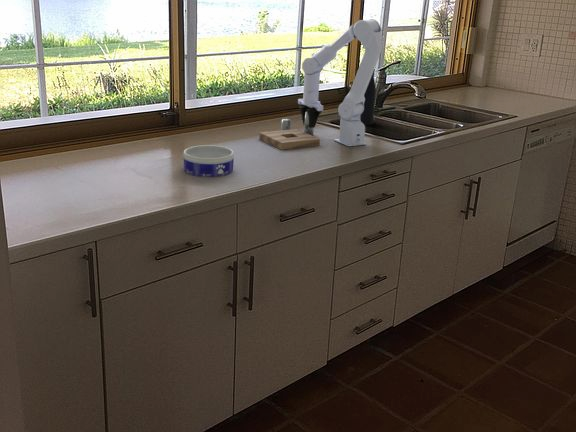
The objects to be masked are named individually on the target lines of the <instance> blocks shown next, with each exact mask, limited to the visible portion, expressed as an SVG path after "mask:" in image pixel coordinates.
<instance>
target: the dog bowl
mask: <svg viewBox="0 0 576 432" xmlns="http://www.w3.org/2000/svg"><path fill="white" fill-rule="evenodd" d="M182 155H183V170H184V172H185V173H186V174H188V175H191V176H195V177H199V178H200V177H201V178H219V177H224V176H227V175H230V174H232V173H233V171H234V155H235V151H234V150H233V149H231V148H229V147H226V146H221V145H214V144H213V145H211V144H210V145H209V144H207V145H205V144H204V145H202V144H201V145H196V146H190V147H188V148H185V149H184V150H183V154H182Z"/></svg>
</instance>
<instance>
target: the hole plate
mask: <svg viewBox="0 0 576 432" xmlns="http://www.w3.org/2000/svg"><path fill="white" fill-rule="evenodd" d="M258 136H259V137H258V139H259V140H260V141H263V142H264V143H266V144H268V145H271V146H272V147H275V148H276V149H279V150H280V151H282V150H292V149H300V148H309V147H318V146H320V141H321V139H320V138H318V137H317V136H314V135H313V136H312V135H310V134H307V133H305V132H304V131H302V130H300V129H297V128H295V129H294V128H293V129H292V128H291V130H281V129H280V130H272V131H262V132H261V131H260V132H259V135H258Z"/></svg>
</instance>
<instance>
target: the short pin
mask: <svg viewBox="0 0 576 432" xmlns="http://www.w3.org/2000/svg"><path fill="white" fill-rule="evenodd" d="M280 128H281V129H280V131H281V130H292V119H290V118H282V119H281V127H280Z"/></svg>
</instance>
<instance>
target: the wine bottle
mask: <svg viewBox="0 0 576 432" xmlns="http://www.w3.org/2000/svg"><path fill="white" fill-rule="evenodd" d="M376 86H377V85H376V81H375V70H374V71H373V74H372V76H371V79H370V81H369V84H368V86H367V89H366V92H365V94H364V97H365V101H364V111H363V112H362V114H360V120H361V122H362V123H363V124H364V126H371V125H373V124H374V123H373V122H374V112H375V103H376V102H375V101H376V91H377V87H376Z"/></svg>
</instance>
